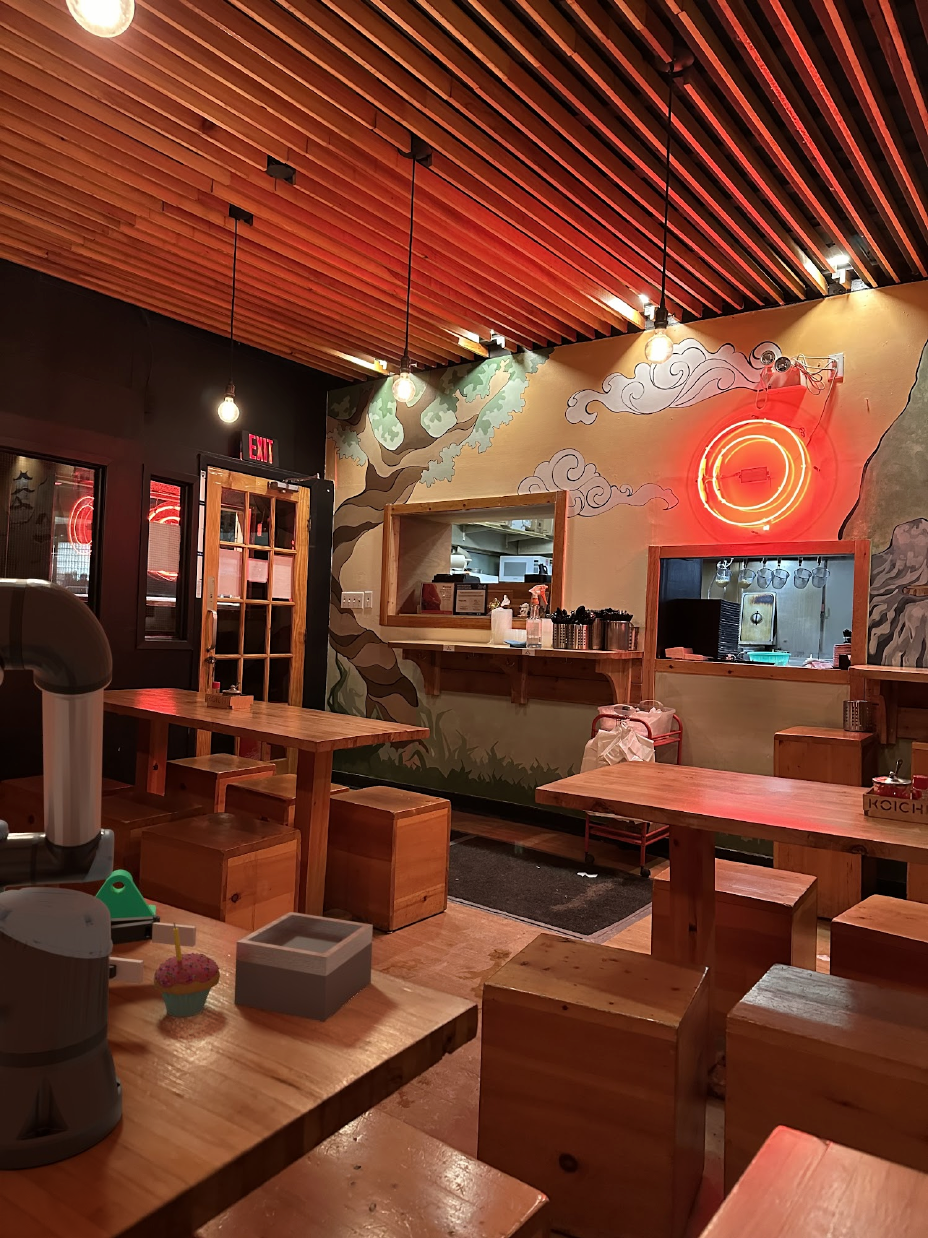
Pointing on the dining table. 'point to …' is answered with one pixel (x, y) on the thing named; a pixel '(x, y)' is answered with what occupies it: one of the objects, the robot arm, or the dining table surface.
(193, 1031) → the dining table surface
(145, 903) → the camera mount
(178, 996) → the cupcake
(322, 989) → the gray open box
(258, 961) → the collar
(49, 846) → the robot arm
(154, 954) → the dining table surface
